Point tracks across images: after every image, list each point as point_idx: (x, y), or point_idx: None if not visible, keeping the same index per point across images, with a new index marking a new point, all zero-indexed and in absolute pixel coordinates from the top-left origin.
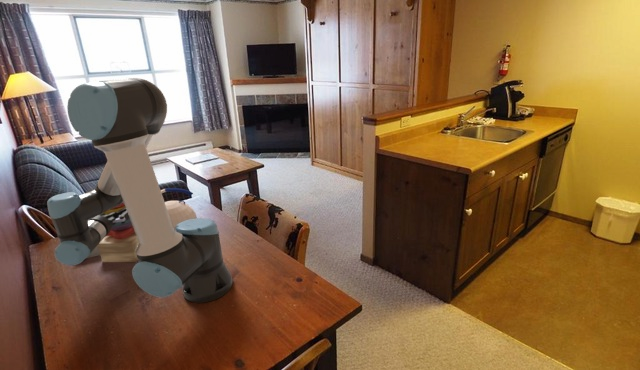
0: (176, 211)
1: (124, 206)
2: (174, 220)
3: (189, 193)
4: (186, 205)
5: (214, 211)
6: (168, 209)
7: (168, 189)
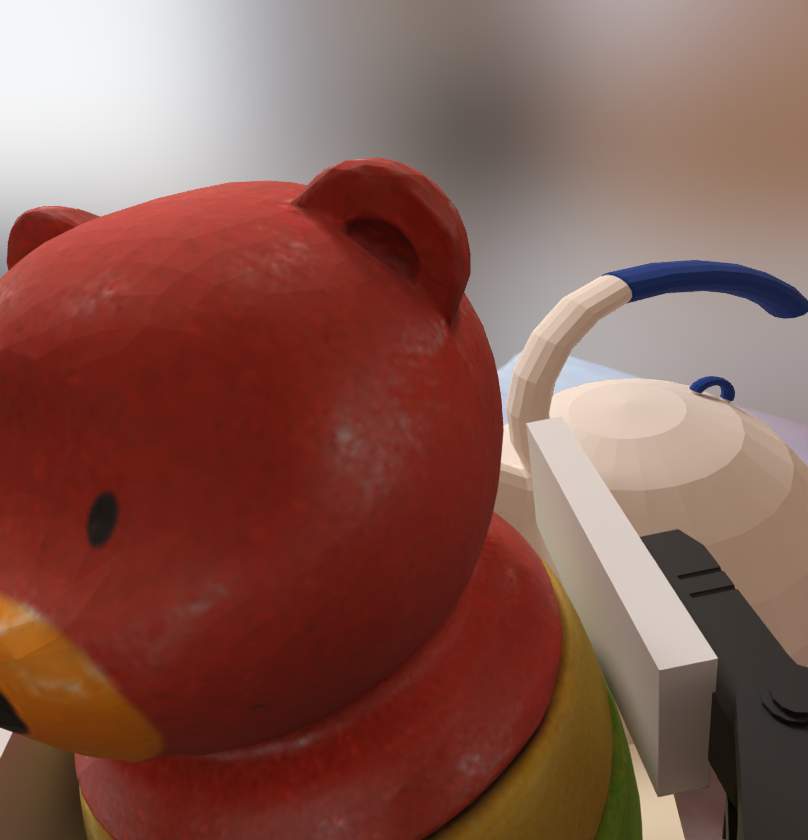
0: (765, 491)
1: (563, 691)
2: (785, 592)
3: (795, 301)
4: (747, 413)
5: (782, 425)
6: (689, 479)
7: (653, 275)
